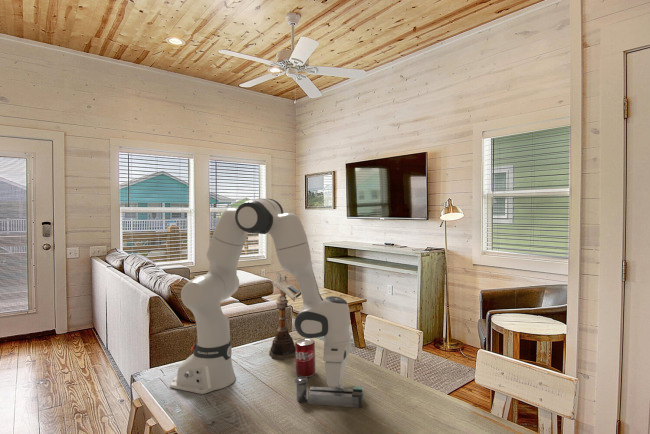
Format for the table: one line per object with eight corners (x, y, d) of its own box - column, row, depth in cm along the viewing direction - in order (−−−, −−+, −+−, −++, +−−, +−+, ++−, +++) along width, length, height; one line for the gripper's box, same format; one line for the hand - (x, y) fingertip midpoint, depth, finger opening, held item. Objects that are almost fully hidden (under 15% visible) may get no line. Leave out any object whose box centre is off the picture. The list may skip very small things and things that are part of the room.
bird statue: (313, 349, 161) (311, 268, 159) (302, 361, 148) (300, 274, 147) (278, 345, 166) (275, 267, 164) (265, 357, 153) (262, 273, 152)
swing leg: (309, 399, 120) (309, 386, 120) (310, 396, 122) (310, 384, 122) (362, 401, 118) (362, 389, 117) (363, 398, 119) (362, 386, 119)
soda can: (313, 378, 134) (312, 345, 134) (293, 377, 135) (292, 344, 135) (317, 369, 141) (316, 338, 141) (299, 368, 143) (298, 337, 142)
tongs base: (294, 402, 118) (293, 382, 118) (297, 395, 122) (296, 376, 122) (362, 408, 114) (361, 386, 114) (363, 400, 118) (362, 380, 118)
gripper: (333, 334, 134) (334, 372, 135) (322, 358, 114) (323, 402, 115) (350, 335, 133) (351, 373, 134) (342, 359, 113) (343, 404, 114)
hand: (338, 387), depth 124 cm, fingers closed
